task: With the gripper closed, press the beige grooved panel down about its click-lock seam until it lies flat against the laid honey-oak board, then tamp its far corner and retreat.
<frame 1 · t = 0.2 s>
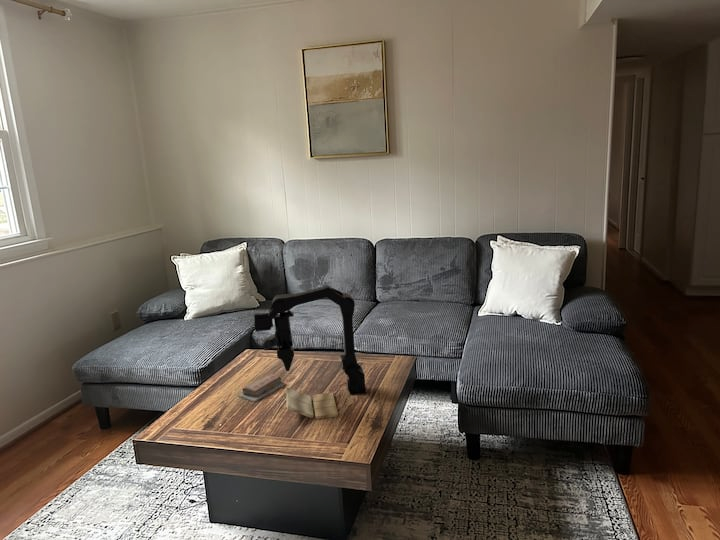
hand: (287, 366, 205), 14 cm above the table, fingers open, 9 cm apart
beige grooved panel: (299, 402, 197), point 3 cm above the table, hinge at 30.0°
laid board: (324, 406, 199), on the table
packaged product: (262, 392, 217), on the table
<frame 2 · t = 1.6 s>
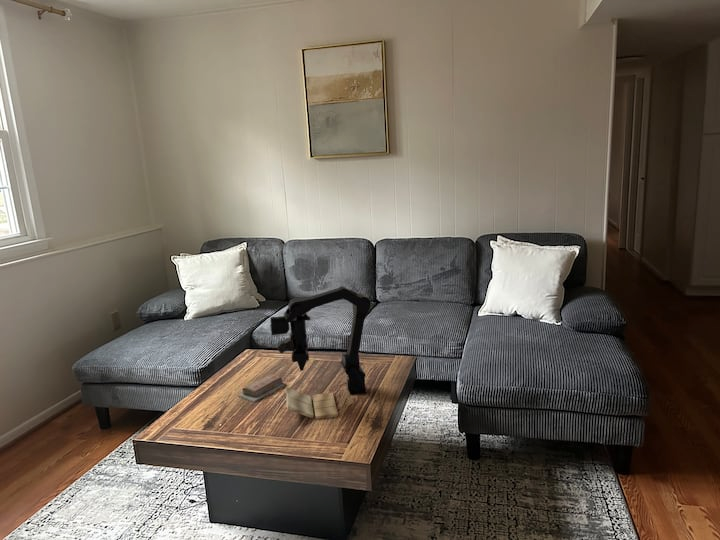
hand: (301, 370, 204), 12 cm above the table, fingers closed
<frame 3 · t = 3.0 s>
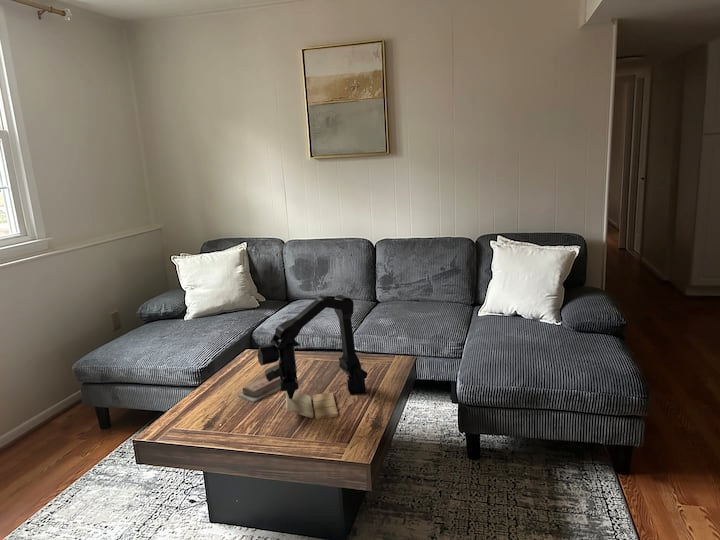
hand: (290, 398, 197), 5 cm above the table, fingers closed, pressing on beige grooved panel
beige grooved panel: (299, 402, 197), point 3 cm above the table, hinge at 27.6°, touching gripper
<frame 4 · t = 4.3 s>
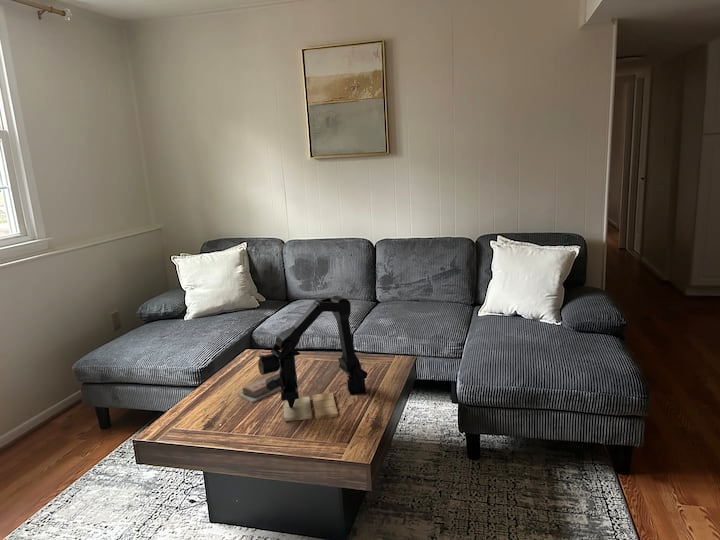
hand: (291, 407, 197), 2 cm above the table, fingers closed
beige grooved panel: (297, 408, 198), point 1 cm above the table, hinge at 3.2°
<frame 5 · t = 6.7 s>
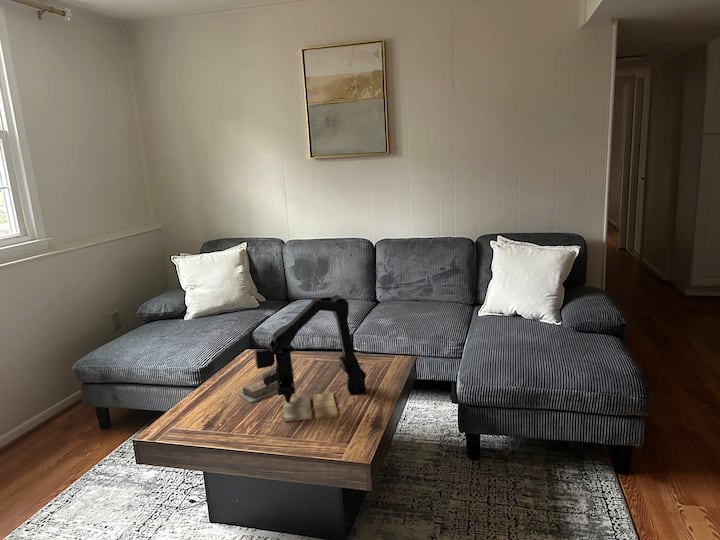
hand: (288, 401, 202), 2 cm above the table, fingers closed, pressing on beige grooved panel
beige grooved panel: (297, 408, 198), point 1 cm above the table, hinge at 3.0°, touching gripper
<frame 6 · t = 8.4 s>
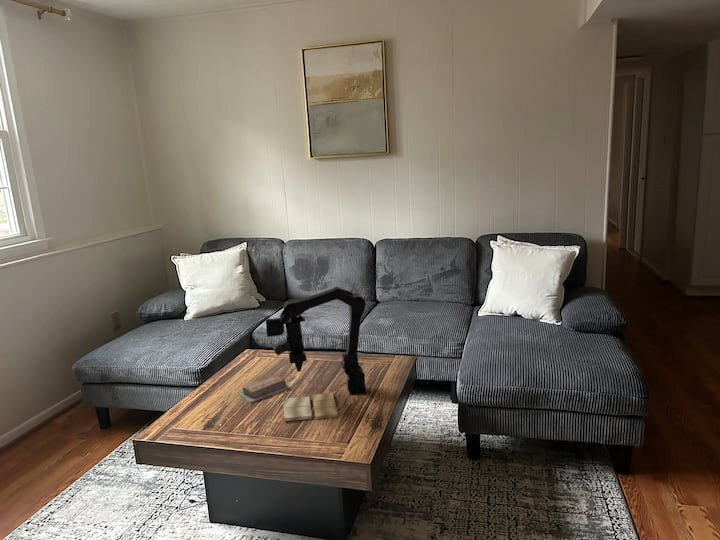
hand: (299, 371, 205), 12 cm above the table, fingers closed
beige grooved panel: (297, 408, 198), point 1 cm above the table, hinge at 2.9°
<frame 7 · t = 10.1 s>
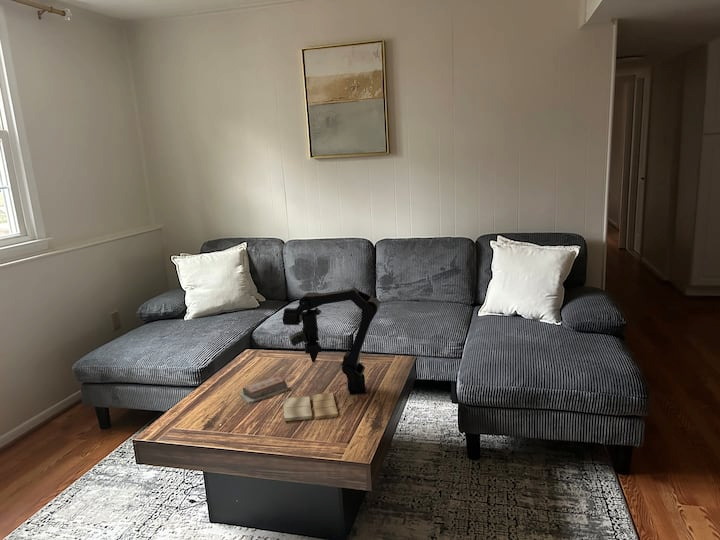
hand: (313, 362, 212), 12 cm above the table, fingers closed
at the end: beige grooved panel at +3° (first picture: +30°) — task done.
